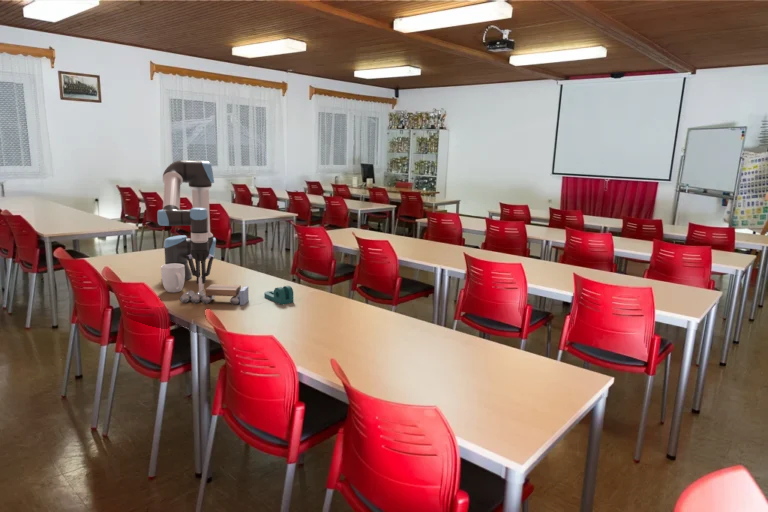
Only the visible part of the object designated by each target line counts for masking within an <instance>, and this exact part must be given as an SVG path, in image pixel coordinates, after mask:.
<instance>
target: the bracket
mask: <svg viewBox="0 0 768 512" xmlns="http://www.w3.org/2000/svg"><path fill="white" fill-rule="evenodd" d="M263 295H264V298H265V299H266V300H269V301H272V302H274V303H276V304H278V305H280V306H283V304H284V305H289V304H292V303H293V304H294V289H293V288H292V286H290V285H284V286H283V287H282V286H278V287H275V288H274V289H273V290H267V291H265V292H264V294H263Z"/></svg>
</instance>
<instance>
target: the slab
mask: <svg viewBox="0 0 768 512" xmlns="http://www.w3.org/2000/svg"><path fill="white" fill-rule="evenodd" d="M241 286H242V285H241V284H219V283H218V284H217V283H216V284H215V283H214V284H213V283H212V284H210V285H209V286H208V287H206V288H204V293H205V295H209V296H215V297H216V296H217V297H233V296H237V295H238V294H239V293H240V290H241V289H242V287H241Z"/></svg>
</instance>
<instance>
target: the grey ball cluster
mask: <svg viewBox="0 0 768 512" xmlns="http://www.w3.org/2000/svg"><path fill="white" fill-rule="evenodd" d="M215 297H216V296H209V295H205V291H204V290H203V291H199V290H198V291H197V292H196V293H195V291H193V290H190V289H189V290H187V291H186V292H185V293H183V294H182V295H181V296H180V298H179V301H180V302H181V303H182V304H186V303H189V301H190V302H191V304H192V303H193V304H198V303H200V302H202V303H203V304H204V305H207V304H209V303H210V302H212V301H213V300H214V299H215Z"/></svg>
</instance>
